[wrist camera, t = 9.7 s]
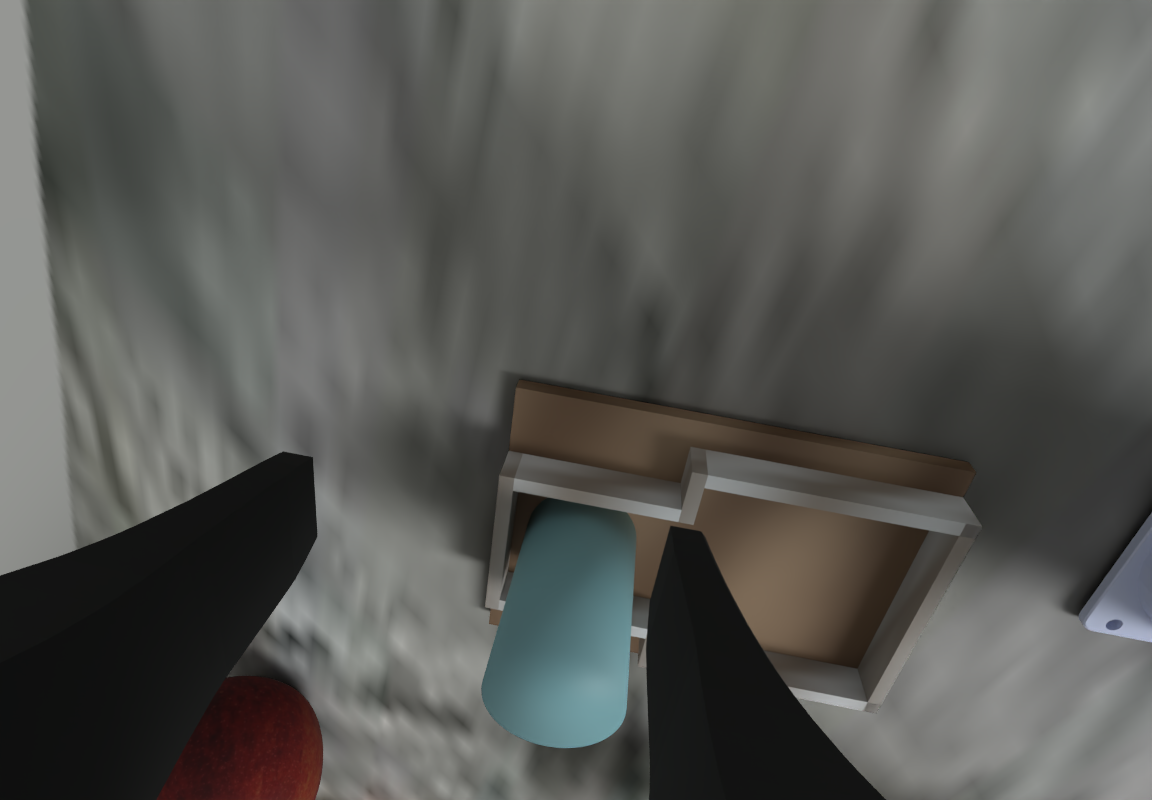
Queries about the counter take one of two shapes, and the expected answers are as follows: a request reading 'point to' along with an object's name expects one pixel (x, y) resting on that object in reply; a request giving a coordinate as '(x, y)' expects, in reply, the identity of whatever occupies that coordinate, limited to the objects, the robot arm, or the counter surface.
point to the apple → (251, 746)
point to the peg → (565, 628)
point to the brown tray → (754, 526)
